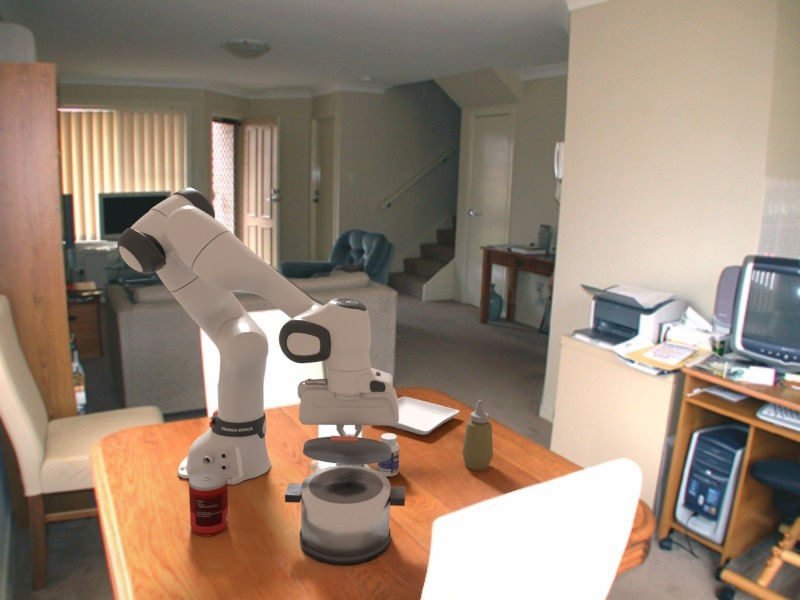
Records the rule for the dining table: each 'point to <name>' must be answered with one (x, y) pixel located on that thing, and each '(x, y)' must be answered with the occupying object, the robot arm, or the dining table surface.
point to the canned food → (208, 502)
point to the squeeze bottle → (478, 440)
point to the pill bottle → (392, 464)
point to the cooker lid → (347, 450)
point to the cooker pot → (345, 513)
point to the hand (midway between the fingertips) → (349, 444)
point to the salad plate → (422, 415)
